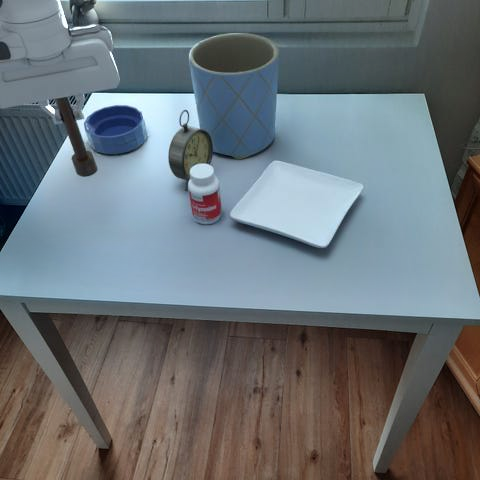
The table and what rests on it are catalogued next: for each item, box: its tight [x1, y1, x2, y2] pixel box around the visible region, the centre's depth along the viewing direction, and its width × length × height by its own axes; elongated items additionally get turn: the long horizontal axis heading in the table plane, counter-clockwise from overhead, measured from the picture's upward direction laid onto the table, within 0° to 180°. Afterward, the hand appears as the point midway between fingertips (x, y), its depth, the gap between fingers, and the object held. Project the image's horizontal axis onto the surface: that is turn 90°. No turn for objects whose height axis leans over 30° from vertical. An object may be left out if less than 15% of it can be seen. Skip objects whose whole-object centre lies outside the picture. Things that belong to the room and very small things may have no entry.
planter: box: [188, 32, 280, 160], centre depth 107 cm, size 19×19×20 cm
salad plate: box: [229, 160, 364, 249], centre depth 96 cm, size 21×21×3 cm
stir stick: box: [54, 96, 99, 178], centre depth 82 cm, size 4×4×18 cm
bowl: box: [83, 104, 148, 155], centre depth 115 cm, size 14×14×5 cm
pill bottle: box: [188, 164, 223, 225], centre depth 94 cm, size 6×6×11 cm
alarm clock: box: [167, 109, 214, 192], centre depth 99 cm, size 11×5×16 cm, turn 148°
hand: (69, 120), depth 81 cm, fingers closed on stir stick, 2 cm apart
